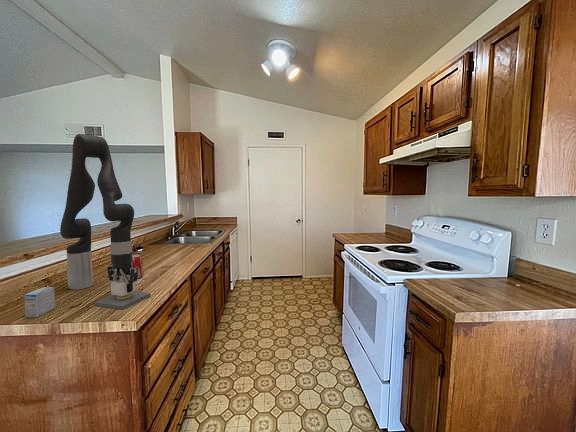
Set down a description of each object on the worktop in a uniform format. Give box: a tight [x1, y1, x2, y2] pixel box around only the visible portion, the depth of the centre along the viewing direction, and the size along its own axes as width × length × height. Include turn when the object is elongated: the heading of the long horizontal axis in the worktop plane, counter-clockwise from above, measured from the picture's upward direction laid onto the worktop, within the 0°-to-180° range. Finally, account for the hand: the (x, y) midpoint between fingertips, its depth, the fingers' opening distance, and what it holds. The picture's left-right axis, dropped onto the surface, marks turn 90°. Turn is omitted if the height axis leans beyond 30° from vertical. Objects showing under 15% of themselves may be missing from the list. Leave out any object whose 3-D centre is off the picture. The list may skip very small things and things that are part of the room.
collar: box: [110, 278, 136, 296], centre depth 109 cm, size 6×6×5 cm
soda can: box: [127, 254, 144, 280], centre depth 139 cm, size 7×7×12 cm
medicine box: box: [23, 286, 56, 318], centre depth 98 cm, size 8×4×9 cm, turn 4°
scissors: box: [135, 279, 145, 285], centre depth 126 cm, size 11×1×20 cm
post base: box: [94, 277, 151, 311], centre depth 109 cm, size 14×14×10 cm
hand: (123, 290), depth 109 cm, fingers closed on collar, 5 cm apart
